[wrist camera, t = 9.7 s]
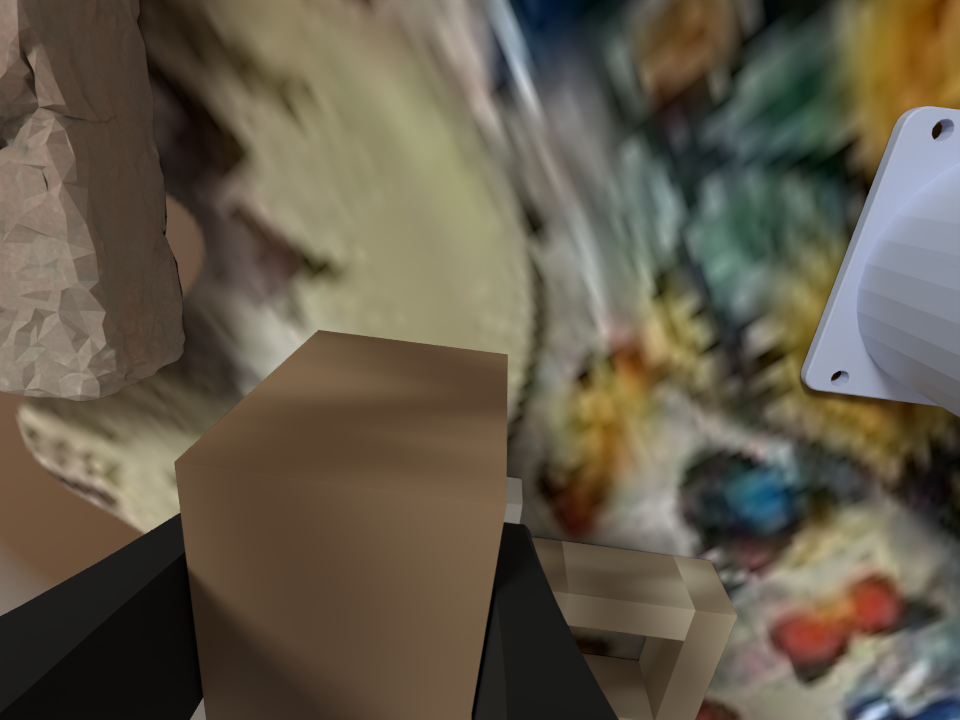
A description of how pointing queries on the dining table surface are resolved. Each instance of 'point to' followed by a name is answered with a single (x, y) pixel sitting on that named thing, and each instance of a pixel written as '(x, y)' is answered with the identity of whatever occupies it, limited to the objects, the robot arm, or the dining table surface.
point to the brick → (81, 204)
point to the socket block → (644, 622)
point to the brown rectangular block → (348, 533)
